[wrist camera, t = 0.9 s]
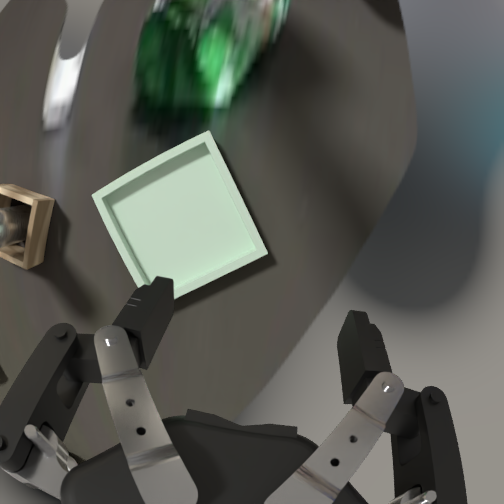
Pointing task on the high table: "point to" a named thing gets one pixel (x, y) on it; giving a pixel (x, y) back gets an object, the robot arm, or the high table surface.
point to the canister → (14, 224)
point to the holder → (36, 229)
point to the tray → (180, 218)
